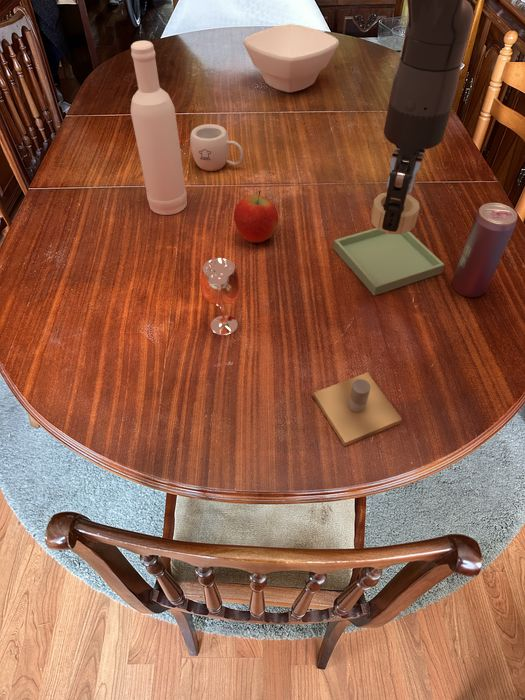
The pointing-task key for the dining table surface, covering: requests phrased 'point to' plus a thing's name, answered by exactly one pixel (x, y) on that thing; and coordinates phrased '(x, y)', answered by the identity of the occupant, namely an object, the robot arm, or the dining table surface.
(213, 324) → the wineglass
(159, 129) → the bottle
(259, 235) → the apple
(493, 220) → the beverage can
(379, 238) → the tray
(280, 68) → the bowl
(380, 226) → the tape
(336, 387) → the peg stand
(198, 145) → the mug
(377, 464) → the dining table surface
